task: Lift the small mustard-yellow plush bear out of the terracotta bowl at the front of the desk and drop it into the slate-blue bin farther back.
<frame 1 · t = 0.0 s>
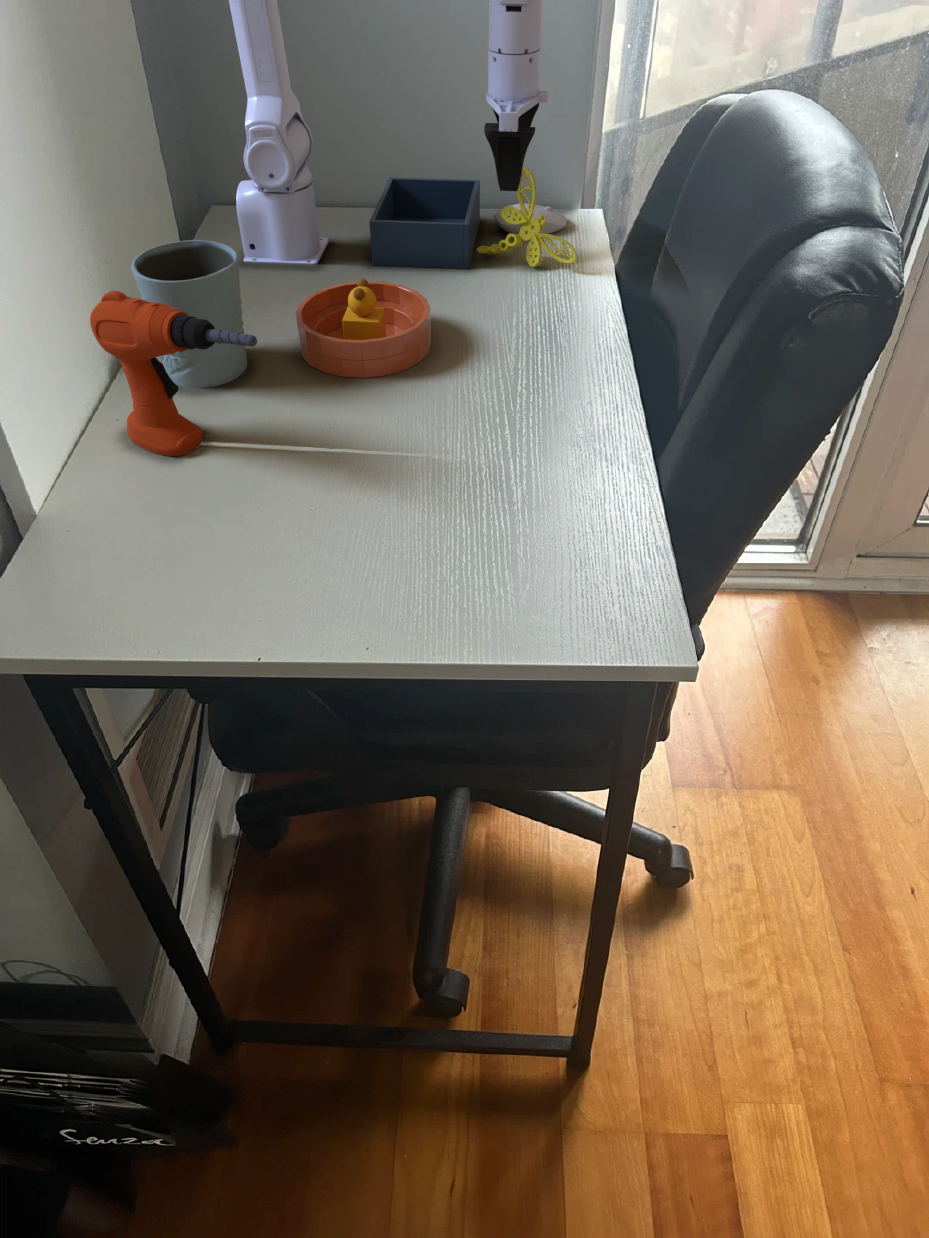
hand: (511, 178, 112), 10 cm above the table, tool pointing down, fingers open, 7 cm apart
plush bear: (365, 344, 103), resting on bowl
grey blue pot: (208, 371, 101), on the table
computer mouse: (529, 229, 127), on the table
decorative insect: (524, 266, 117), on the table, touching gripper
bin: (428, 242, 124), on the table
bowl: (366, 349, 103), on the table
toy drill: (202, 452, 90), on the table
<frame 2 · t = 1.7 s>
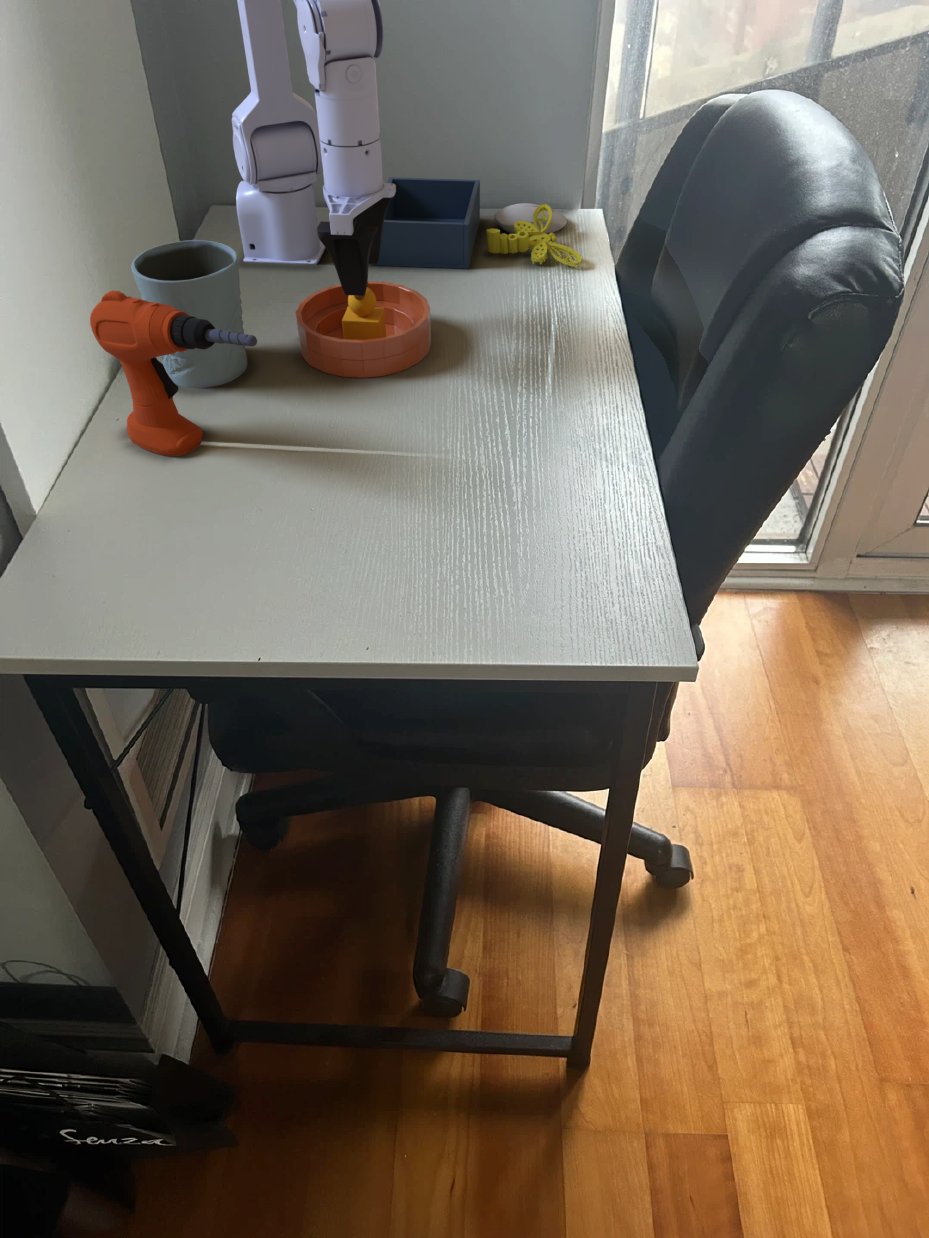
hand: (362, 277, 98), 8 cm above the table, tool pointing down, fingers open, 7 cm apart
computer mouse: (529, 229, 127), on the table, touching decorative insect
decorative insect: (528, 256, 117), point 1 cm above the table, touching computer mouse
everything else where it was.
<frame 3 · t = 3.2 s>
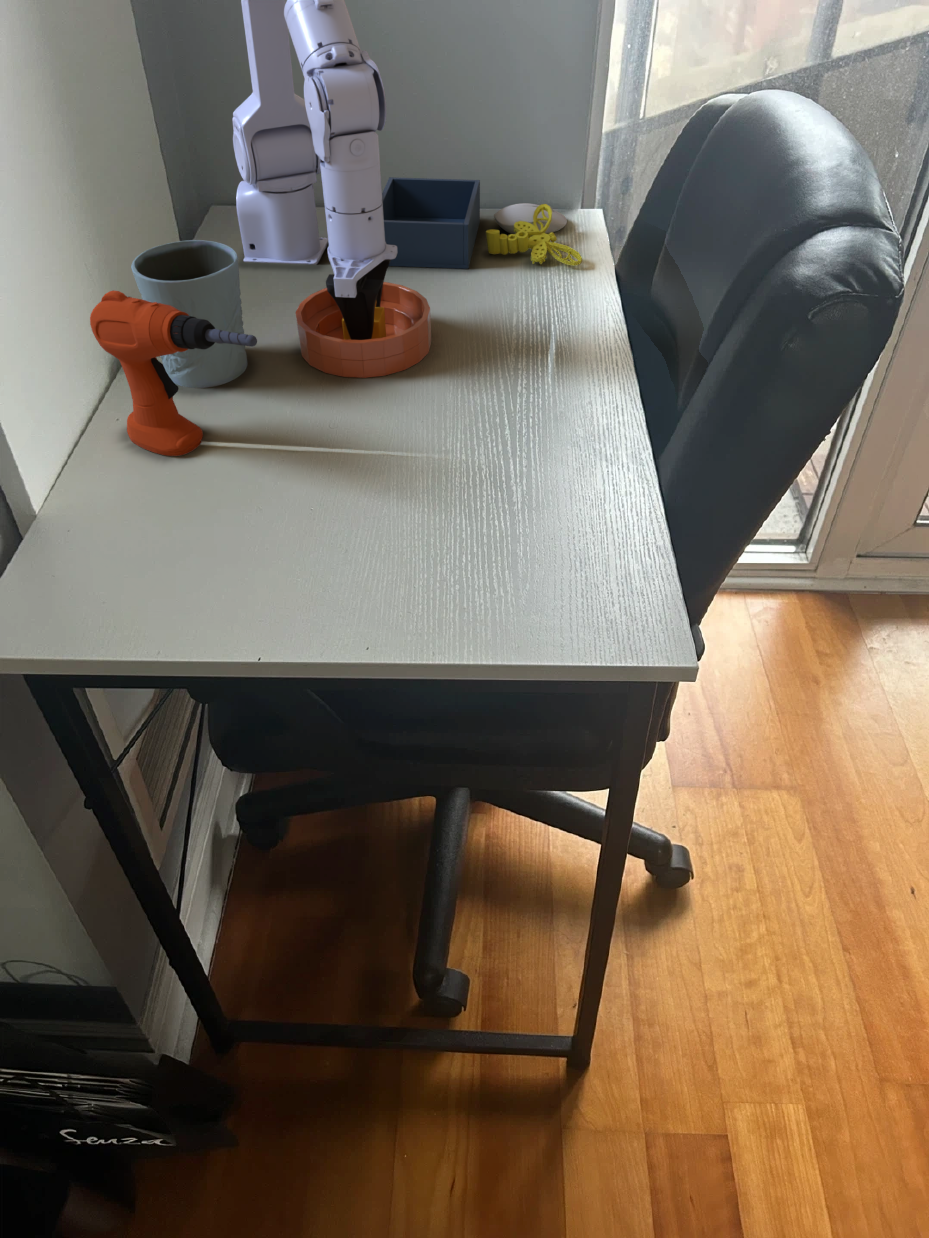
hand: (364, 332, 102), 2 cm above the table, tool pointing down, fingers closed on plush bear, 3 cm apart
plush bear: (366, 344, 103), resting on bowl, touching gripper
everything else where it was.
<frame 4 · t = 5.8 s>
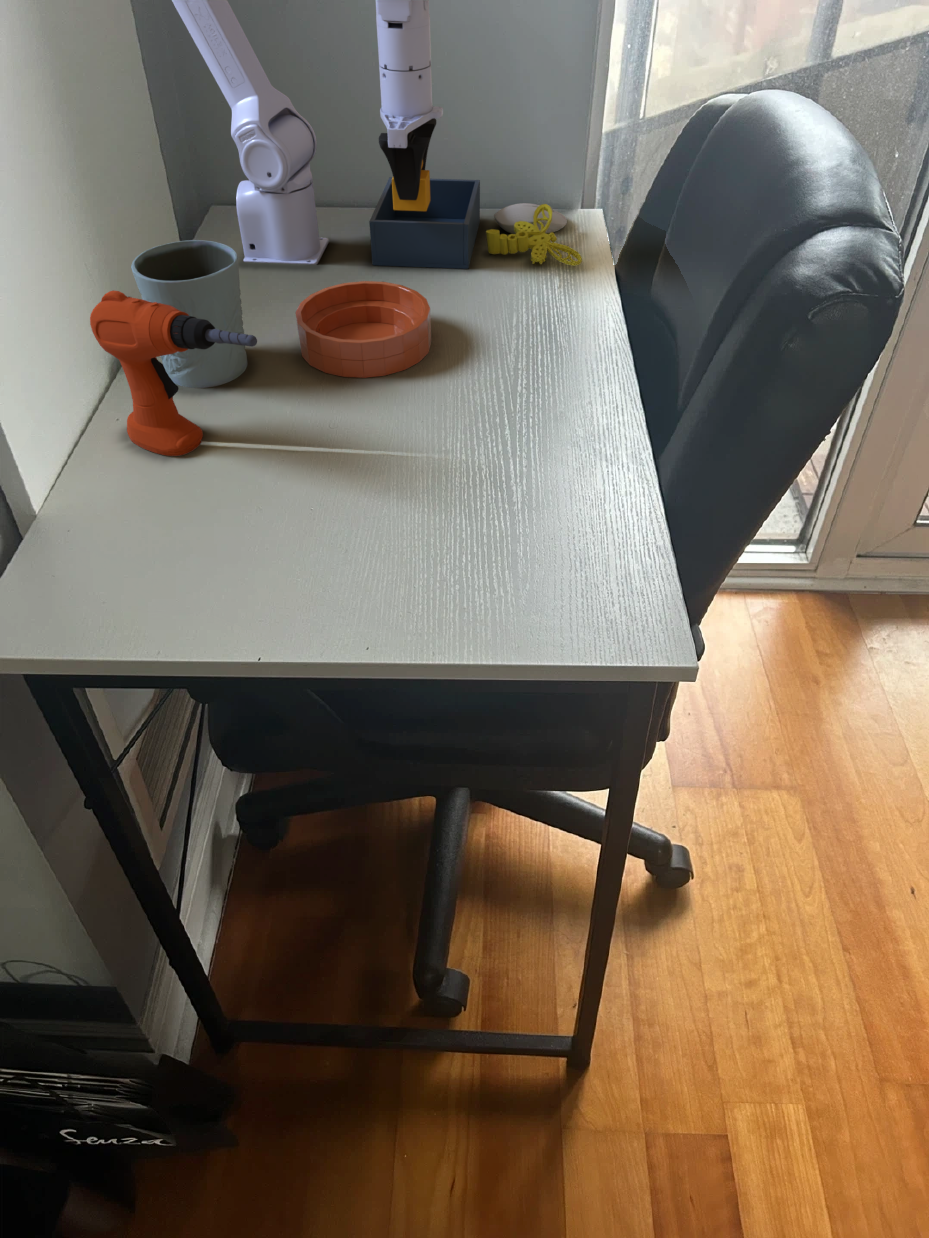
hand: (410, 193, 112), 9 cm above the table, tool pointing down, fingers closed on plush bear, 3 cm apart
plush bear: (412, 205, 113), point 8 cm above the table, touching gripper
everything else where it was.
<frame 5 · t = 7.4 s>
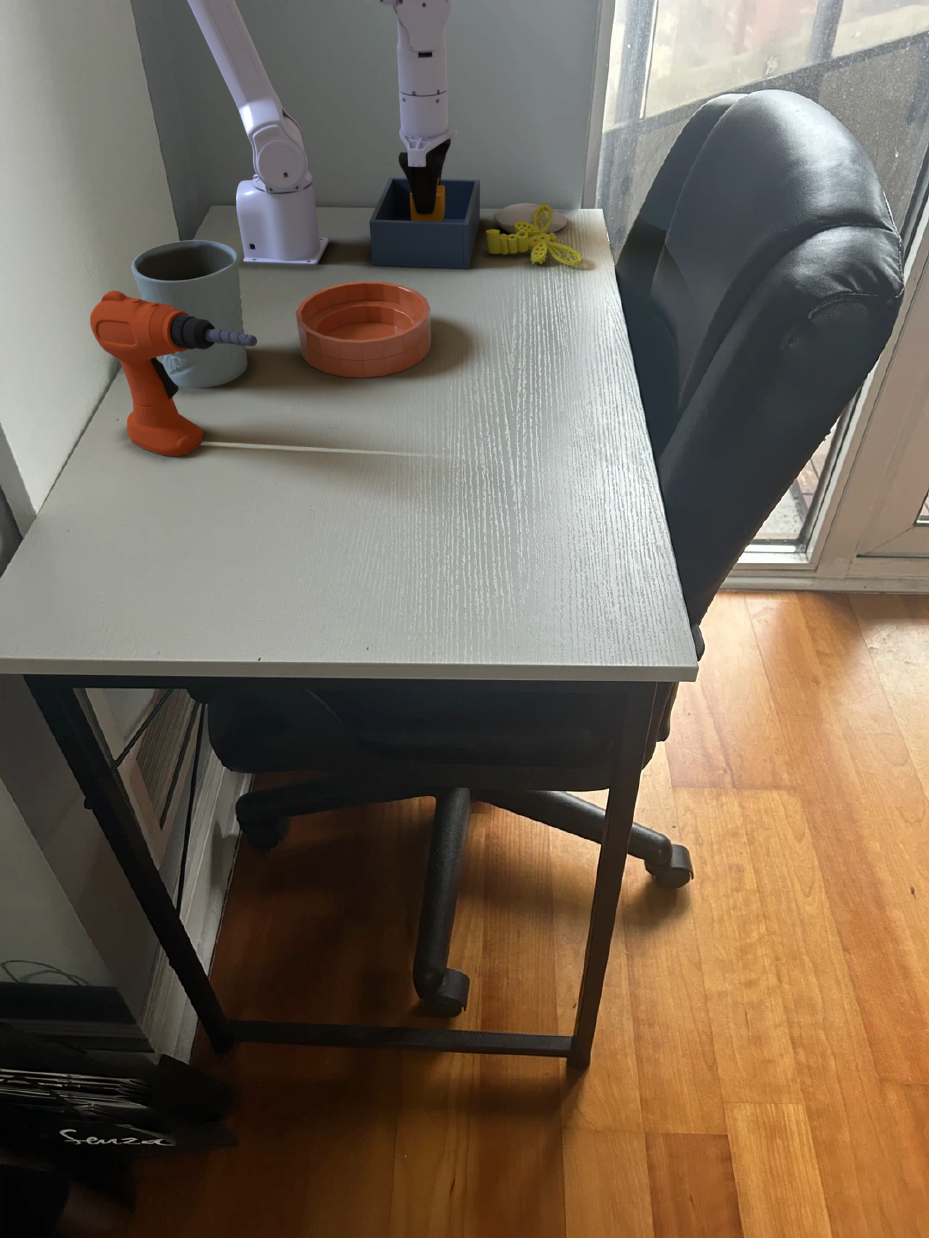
hand: (427, 207, 121), 5 cm above the table, tool pointing down, fingers closed on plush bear, 3 cm apart
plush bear: (428, 218, 122), point 3 cm above the table, touching gripper
everything else where it was.
when the fingers open (2 cm above the table, at t = 8.6 s): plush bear stays where it is, resting on bin.
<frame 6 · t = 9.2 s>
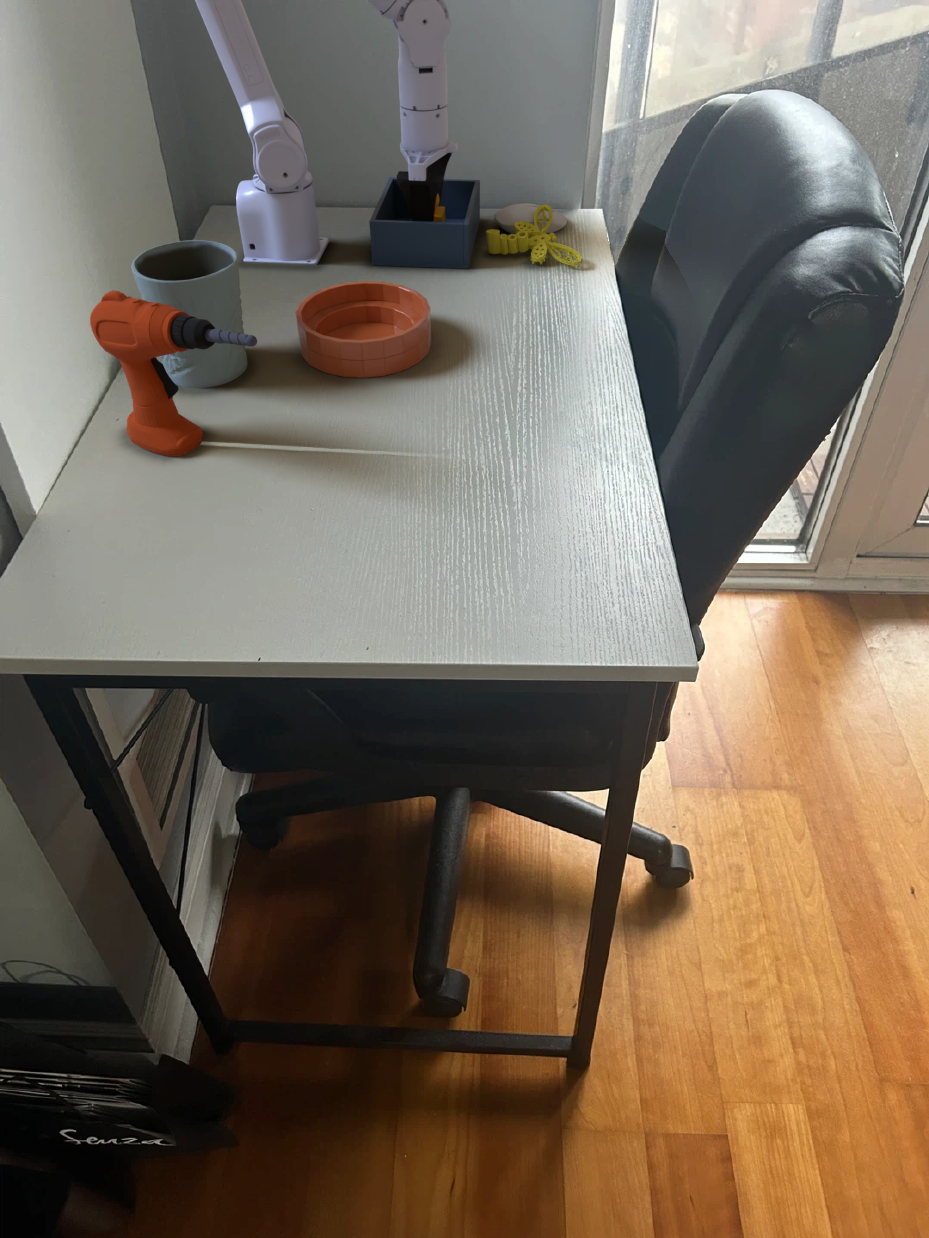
hand: (427, 219, 122), 3 cm above the table, tool pointing down, fingers open, 7 cm apart
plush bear: (429, 239, 124), resting on bin
everything else where it was.
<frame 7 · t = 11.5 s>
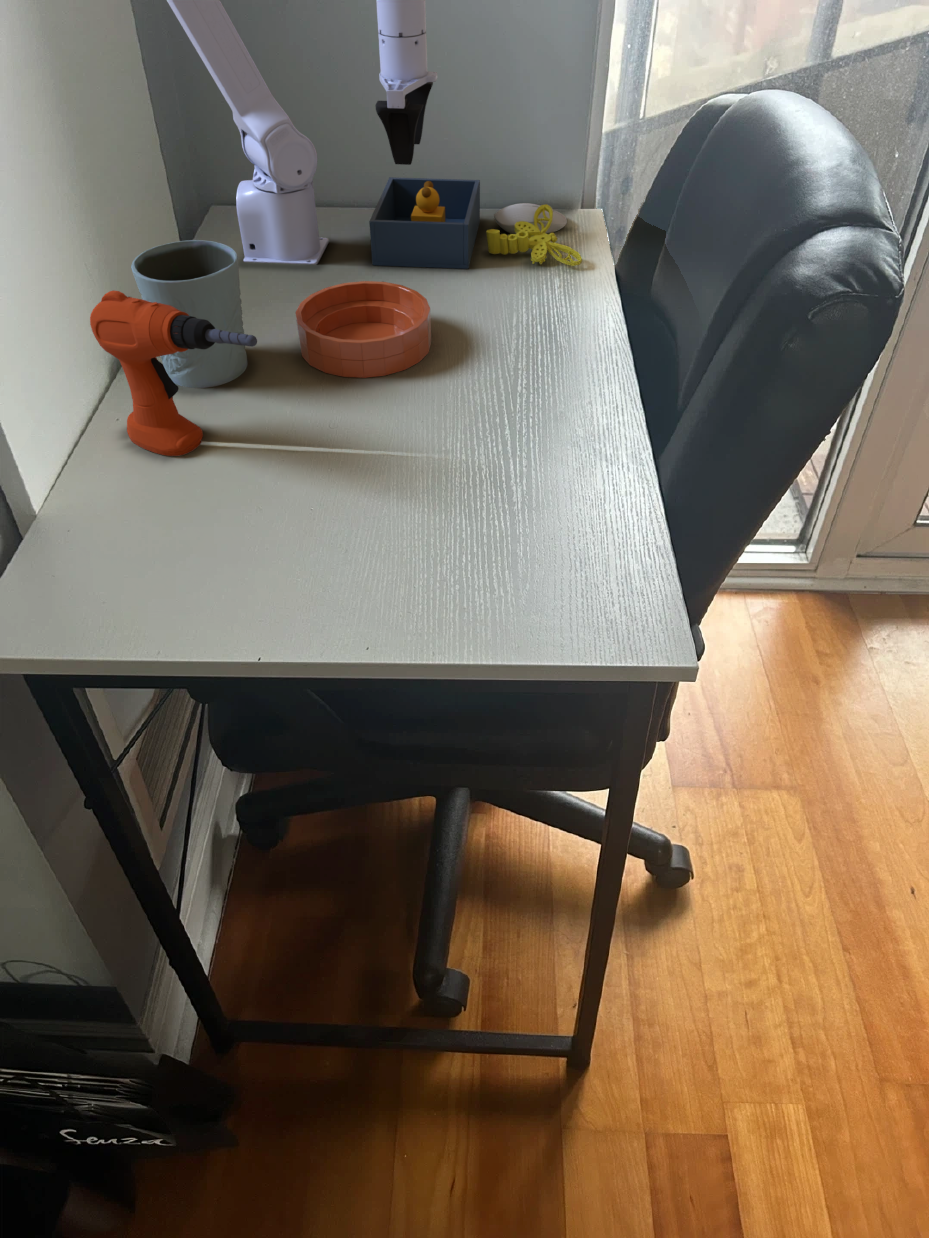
hand: (407, 153, 121), 9 cm above the table, tool pointing down, fingers open, 7 cm apart
nothing on the table moved.
at the end: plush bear inside the target area in the bin (0.1 cm from its centre), point 0.5 cm above the bin's base; the gripper is holding nothing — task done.
